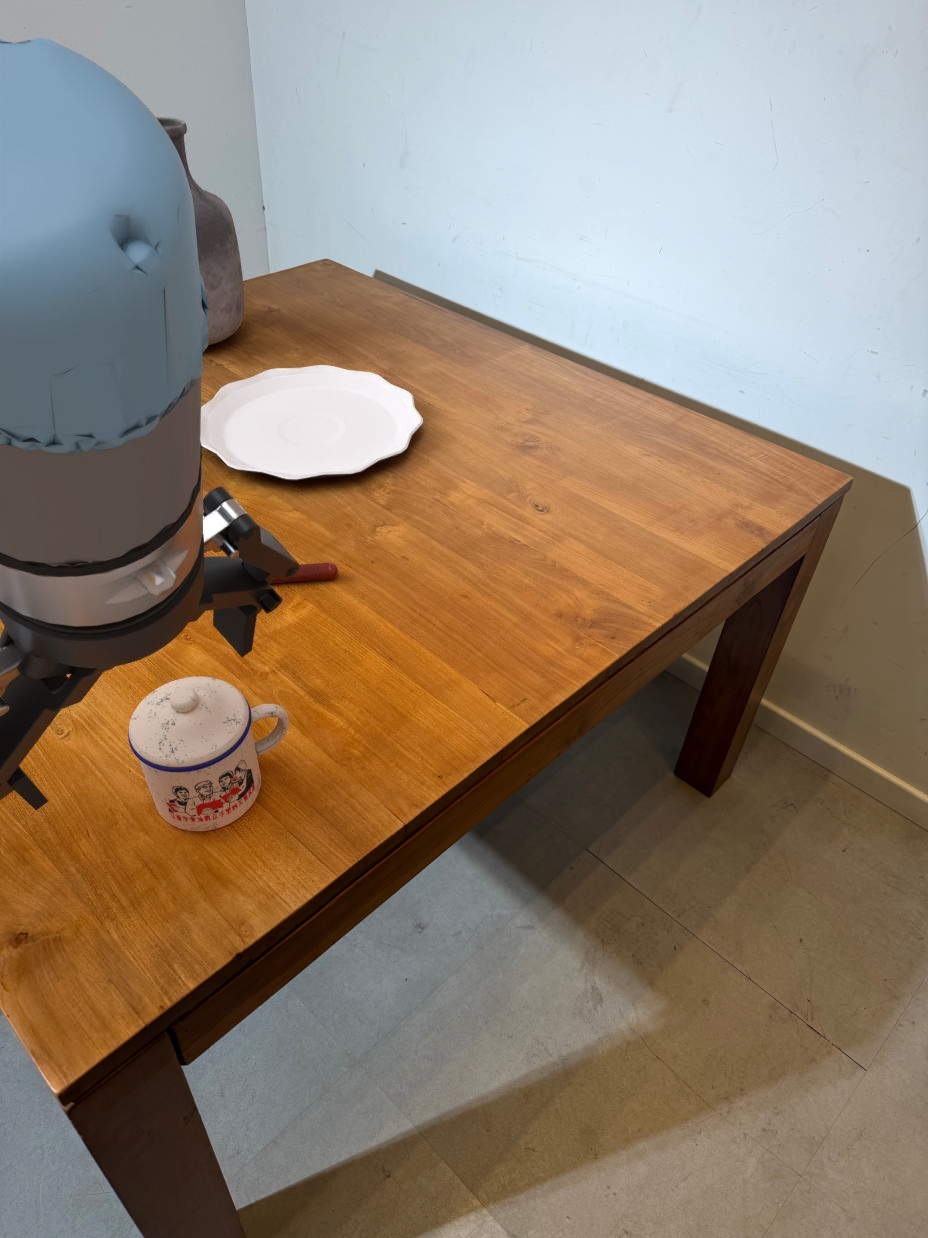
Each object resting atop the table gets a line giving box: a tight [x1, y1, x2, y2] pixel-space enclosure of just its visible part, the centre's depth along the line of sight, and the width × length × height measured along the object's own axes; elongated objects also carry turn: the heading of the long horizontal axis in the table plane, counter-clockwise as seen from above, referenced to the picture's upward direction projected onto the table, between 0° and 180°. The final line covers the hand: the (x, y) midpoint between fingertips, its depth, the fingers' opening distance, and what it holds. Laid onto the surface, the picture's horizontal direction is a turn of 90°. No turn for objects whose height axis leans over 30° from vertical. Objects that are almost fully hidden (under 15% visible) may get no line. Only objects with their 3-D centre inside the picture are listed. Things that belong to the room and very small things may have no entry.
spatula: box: [270, 562, 339, 584], centre depth 88 cm, size 24×6×2 cm, turn 99°
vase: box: [155, 116, 245, 346], centre depth 121 cm, size 16×16×30 cm
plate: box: [200, 364, 424, 482], centre depth 111 cm, size 29×29×2 cm
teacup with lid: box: [127, 676, 290, 832], centre depth 66 cm, size 12×9×12 cm
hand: (136, 707), depth 48 cm, fingers open, 13 cm apart
